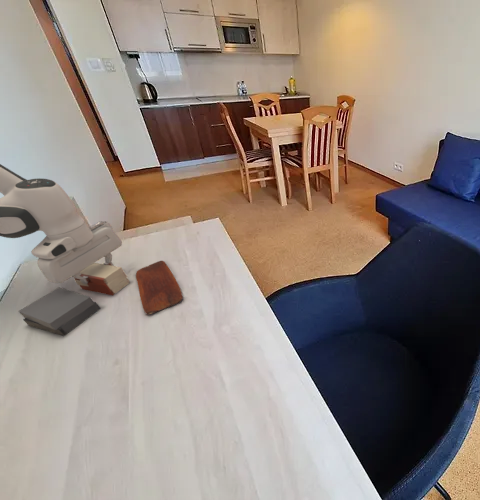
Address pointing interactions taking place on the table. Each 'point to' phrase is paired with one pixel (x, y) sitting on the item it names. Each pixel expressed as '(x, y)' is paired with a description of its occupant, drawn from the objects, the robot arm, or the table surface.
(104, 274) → the white book
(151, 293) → the wooden tablet
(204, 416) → the table surface
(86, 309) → the grey book pile
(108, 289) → the white book pile
